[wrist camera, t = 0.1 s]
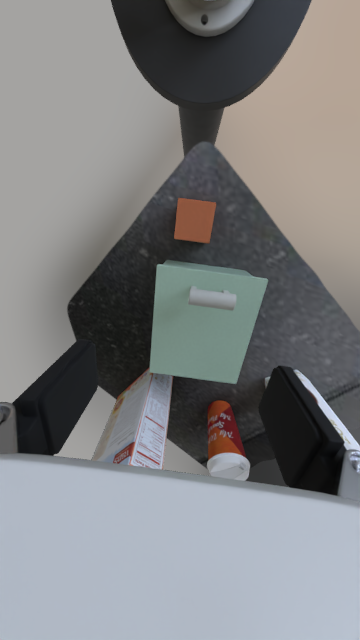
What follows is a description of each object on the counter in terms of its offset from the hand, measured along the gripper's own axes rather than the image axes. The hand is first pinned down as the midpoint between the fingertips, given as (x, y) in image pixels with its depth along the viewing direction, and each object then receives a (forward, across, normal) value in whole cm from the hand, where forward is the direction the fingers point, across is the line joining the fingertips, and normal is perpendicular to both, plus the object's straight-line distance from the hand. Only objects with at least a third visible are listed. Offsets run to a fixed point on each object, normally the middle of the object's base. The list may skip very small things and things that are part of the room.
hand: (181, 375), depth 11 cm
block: (+27, 0, -8) cm, 28 cm away
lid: (+17, -3, +6) cm, 18 cm away
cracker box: (+27, +6, +27) cm, 39 cm away
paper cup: (+27, -12, +31) cm, 43 cm away
